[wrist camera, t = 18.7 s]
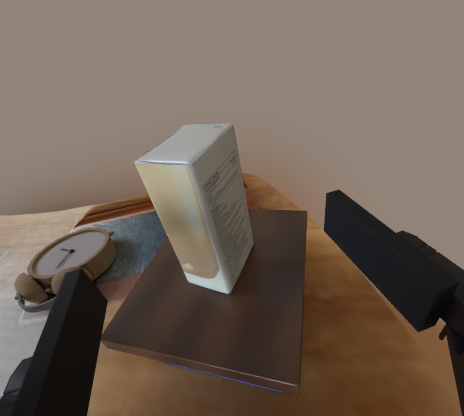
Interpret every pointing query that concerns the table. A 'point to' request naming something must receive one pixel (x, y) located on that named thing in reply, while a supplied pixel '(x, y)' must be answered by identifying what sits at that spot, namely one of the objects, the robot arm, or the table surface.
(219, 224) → the cosmetic box
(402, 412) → the table surface
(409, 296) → the robot arm
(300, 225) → the board
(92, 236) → the alarm clock
